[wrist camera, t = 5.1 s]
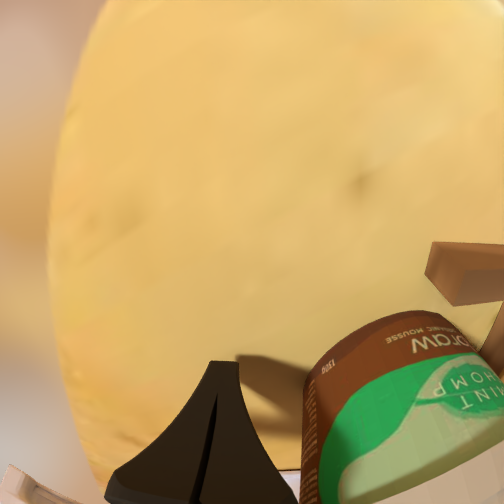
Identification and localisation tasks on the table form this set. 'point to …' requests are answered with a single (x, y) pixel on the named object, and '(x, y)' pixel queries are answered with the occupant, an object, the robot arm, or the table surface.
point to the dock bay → (472, 286)
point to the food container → (403, 418)
